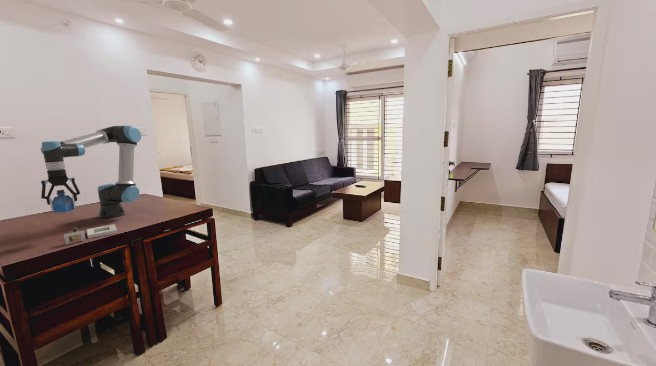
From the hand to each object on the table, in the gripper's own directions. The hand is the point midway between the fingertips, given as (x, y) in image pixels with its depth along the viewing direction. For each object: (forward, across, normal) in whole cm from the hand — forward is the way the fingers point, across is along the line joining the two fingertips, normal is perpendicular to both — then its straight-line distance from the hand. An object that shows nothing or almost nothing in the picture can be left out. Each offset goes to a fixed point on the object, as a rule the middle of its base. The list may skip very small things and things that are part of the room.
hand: (64, 208), depth 161 cm
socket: (+17, +15, -5) cm, 23 cm away
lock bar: (+17, +3, -4) cm, 18 cm away
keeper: (+17, +3, -14) cm, 22 cm away
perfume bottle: (+2, 0, 0) cm, 2 cm away
